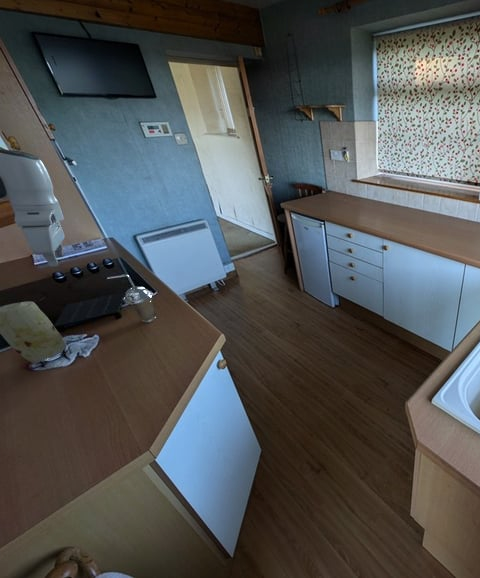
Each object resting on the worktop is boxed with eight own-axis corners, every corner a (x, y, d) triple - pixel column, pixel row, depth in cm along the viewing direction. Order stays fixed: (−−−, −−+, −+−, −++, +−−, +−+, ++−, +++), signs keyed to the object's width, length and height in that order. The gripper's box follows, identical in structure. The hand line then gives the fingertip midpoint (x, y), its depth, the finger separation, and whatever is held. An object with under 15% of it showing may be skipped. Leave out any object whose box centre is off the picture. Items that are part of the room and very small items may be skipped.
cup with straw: (159, 323, 108) (135, 276, 97) (130, 328, 105) (103, 280, 95) (166, 310, 114) (144, 265, 104) (138, 315, 112) (113, 269, 101)
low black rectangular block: (57, 333, 103) (52, 326, 101) (71, 310, 114) (66, 304, 113) (121, 318, 110) (118, 311, 109) (128, 298, 122) (124, 291, 121)
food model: (69, 345, 97) (32, 295, 87) (73, 354, 94) (35, 302, 83) (27, 361, 91) (-19, 309, 81) (30, 372, 87) (-18, 318, 77)
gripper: (31, 208, 88) (48, 253, 93) (12, 221, 73) (33, 273, 78) (62, 208, 91) (76, 251, 97) (49, 220, 77) (67, 269, 82)
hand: (57, 261), depth 87 cm, fingers open, 8 cm apart
